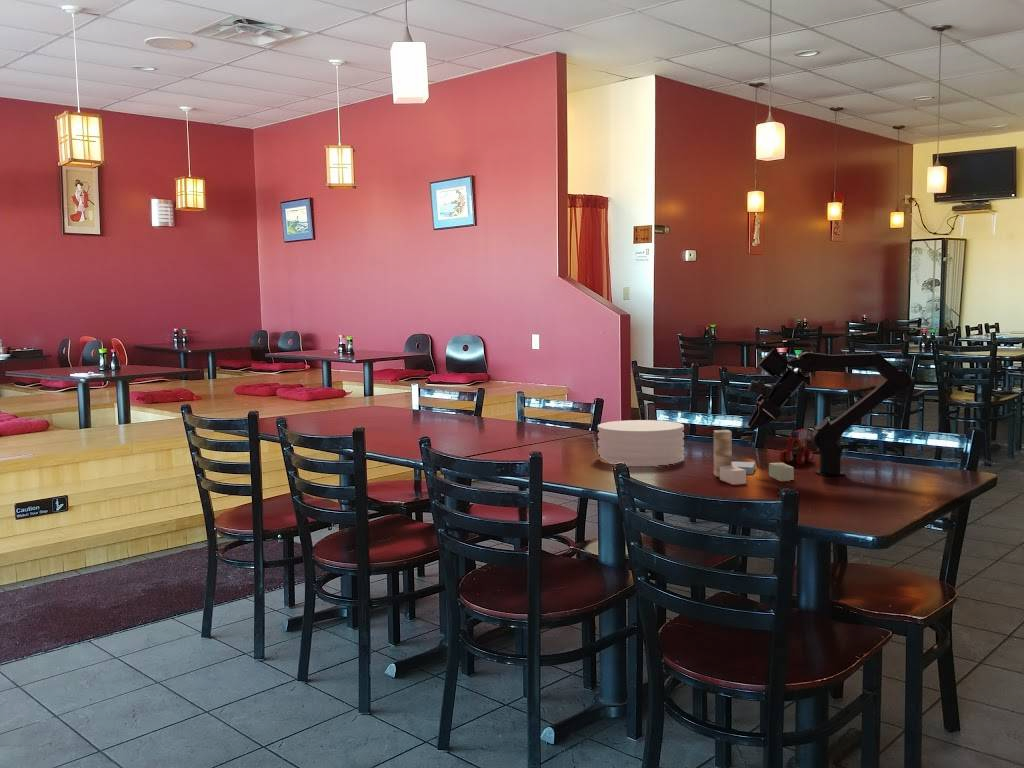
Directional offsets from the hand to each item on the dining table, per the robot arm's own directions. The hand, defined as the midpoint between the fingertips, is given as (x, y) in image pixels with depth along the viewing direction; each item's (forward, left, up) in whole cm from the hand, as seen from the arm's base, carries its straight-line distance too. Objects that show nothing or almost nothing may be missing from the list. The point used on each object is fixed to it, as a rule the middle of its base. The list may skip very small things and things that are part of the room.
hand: (749, 427), depth 261 cm
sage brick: (-10, -5, -14) cm, 18 cm away
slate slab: (+4, +2, -14) cm, 15 cm away
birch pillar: (-1, +9, -13) cm, 16 cm away
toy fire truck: (+13, -21, -14) cm, 28 cm away
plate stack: (+32, +24, -14) cm, 42 cm away
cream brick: (-11, +10, -14) cm, 20 cm away
